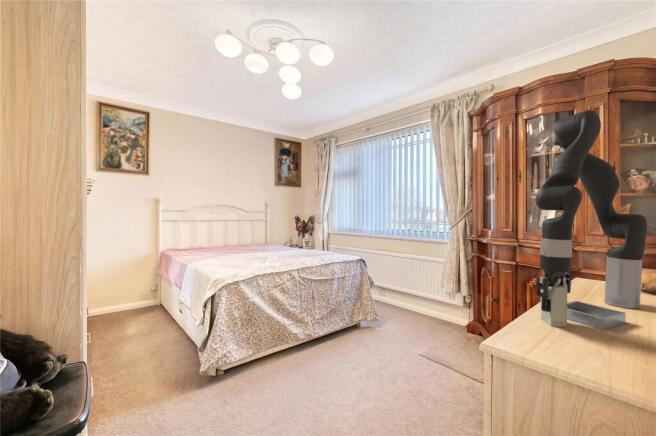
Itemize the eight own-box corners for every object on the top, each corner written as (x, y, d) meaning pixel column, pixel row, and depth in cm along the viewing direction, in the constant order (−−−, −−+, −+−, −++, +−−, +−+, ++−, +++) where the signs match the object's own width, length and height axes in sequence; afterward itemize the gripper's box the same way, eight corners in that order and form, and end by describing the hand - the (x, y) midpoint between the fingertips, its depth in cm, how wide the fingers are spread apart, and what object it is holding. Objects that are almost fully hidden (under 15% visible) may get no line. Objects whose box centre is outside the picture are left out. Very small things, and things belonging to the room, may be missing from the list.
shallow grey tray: (575, 309, 100) (575, 300, 100) (625, 322, 89) (625, 312, 89) (554, 314, 95) (554, 305, 94) (604, 329, 83) (605, 319, 83)
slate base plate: (573, 310, 101) (573, 308, 101) (629, 325, 88) (629, 323, 88) (550, 316, 95) (550, 314, 95) (606, 334, 82) (606, 331, 82)
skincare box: (567, 330, 85) (569, 288, 84) (549, 328, 86) (551, 287, 85) (555, 321, 91) (556, 282, 90) (538, 320, 92) (540, 281, 91)
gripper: (554, 251, 94) (552, 302, 95) (527, 253, 88) (525, 308, 88) (583, 254, 87) (580, 309, 88) (556, 257, 81) (553, 317, 81)
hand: (553, 309), depth 88 cm, fingers closed on skincare box, 7 cm apart
